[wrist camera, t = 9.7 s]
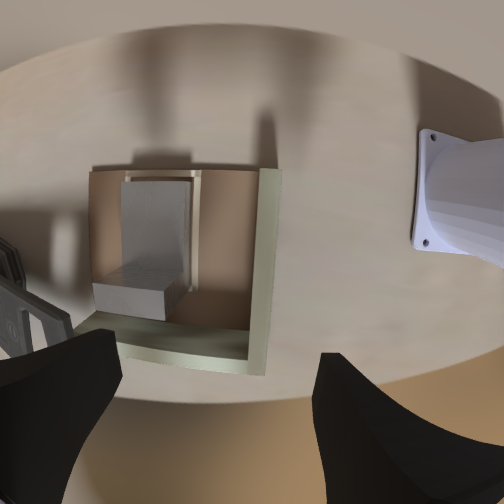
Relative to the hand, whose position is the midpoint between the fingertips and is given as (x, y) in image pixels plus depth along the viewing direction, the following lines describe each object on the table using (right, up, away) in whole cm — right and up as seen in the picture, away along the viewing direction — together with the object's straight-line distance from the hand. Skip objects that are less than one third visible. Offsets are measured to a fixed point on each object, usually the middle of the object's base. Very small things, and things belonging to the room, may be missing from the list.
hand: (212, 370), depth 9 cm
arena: (-4, +4, +9) cm, 10 cm away
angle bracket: (-4, +5, +8) cm, 11 cm away
